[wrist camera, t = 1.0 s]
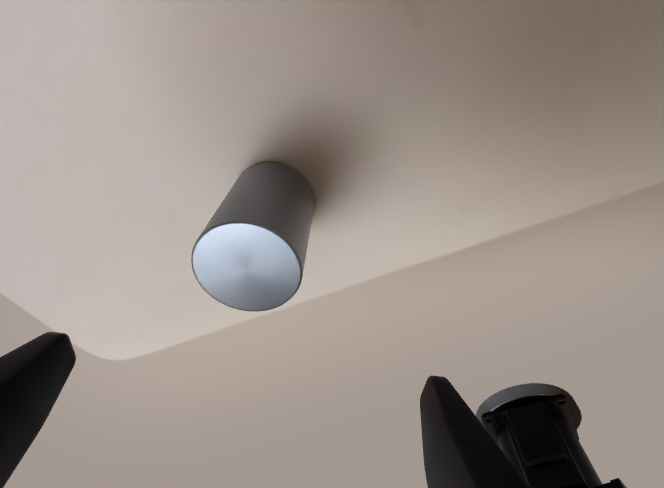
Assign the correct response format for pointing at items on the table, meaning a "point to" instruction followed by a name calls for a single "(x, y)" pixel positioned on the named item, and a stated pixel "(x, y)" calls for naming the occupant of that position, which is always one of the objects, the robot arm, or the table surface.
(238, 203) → the cylinder
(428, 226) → the table surface
